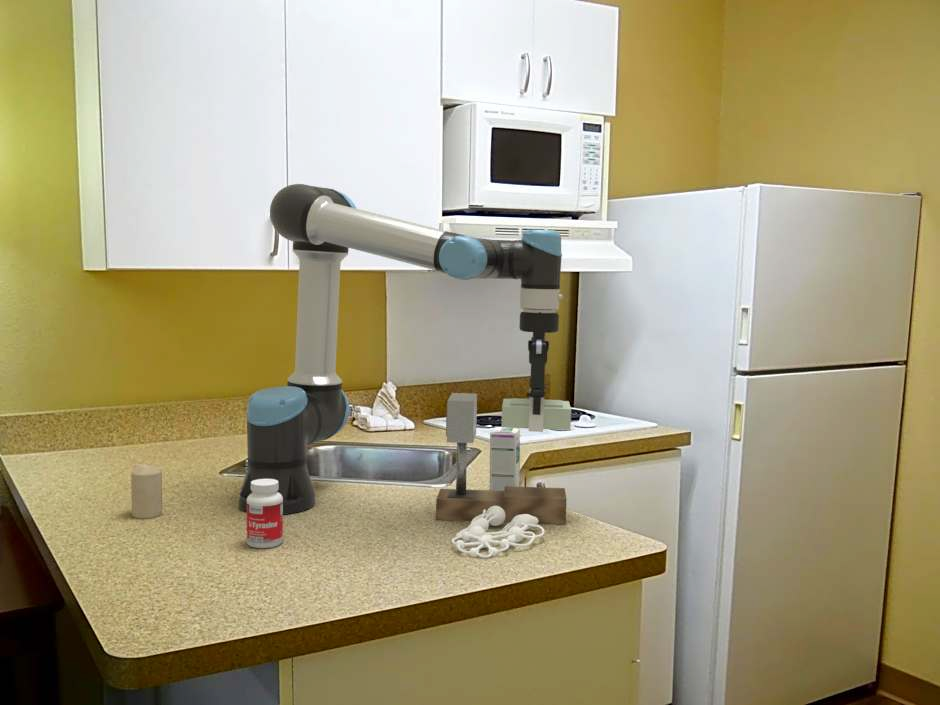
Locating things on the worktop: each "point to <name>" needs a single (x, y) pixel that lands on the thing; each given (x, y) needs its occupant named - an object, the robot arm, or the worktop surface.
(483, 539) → the tangled rod sculpture
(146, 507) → the candle
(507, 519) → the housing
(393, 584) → the worktop surface
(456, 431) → the block
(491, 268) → the robot arm
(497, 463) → the syrup box
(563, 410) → the cover
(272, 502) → the pill bottle
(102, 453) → the worktop surface
